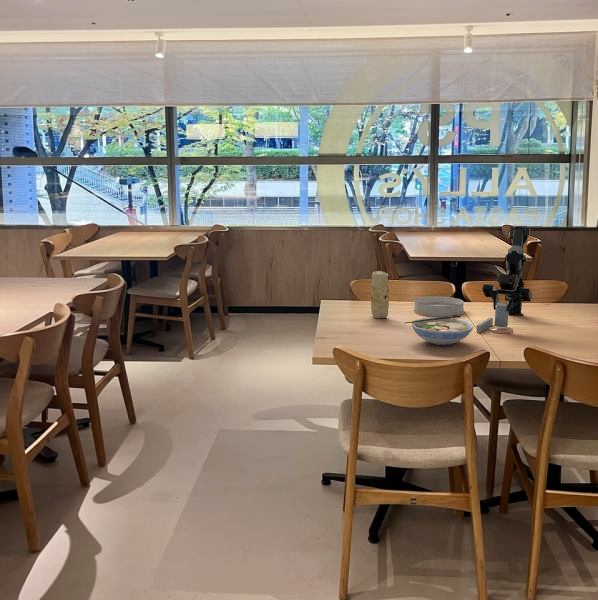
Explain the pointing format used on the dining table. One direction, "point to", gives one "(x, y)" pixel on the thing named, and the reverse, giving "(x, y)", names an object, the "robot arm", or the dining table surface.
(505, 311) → the salt shaker
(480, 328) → the acrylic divider
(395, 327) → the dining table surface
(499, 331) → the coaster
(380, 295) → the food model
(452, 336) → the ramen bowl
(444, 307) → the dish
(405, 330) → the dining table surface
